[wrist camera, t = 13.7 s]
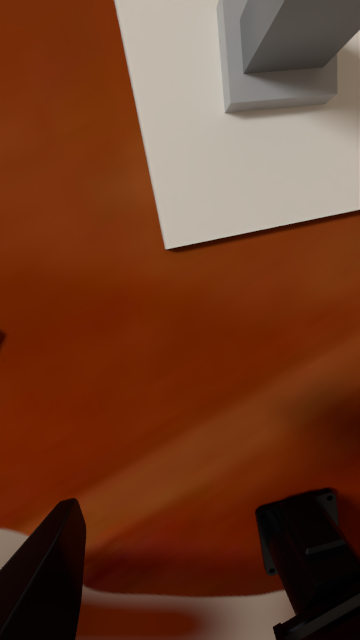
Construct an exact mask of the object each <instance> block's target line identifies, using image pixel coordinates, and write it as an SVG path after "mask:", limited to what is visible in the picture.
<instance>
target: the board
mask: <svg viewBox="0 0 360 640" xmlns="http://www.w3.org/2000/svg"><path fill="white" fill-rule="evenodd" d="M218 1H219V0H114V2H115V7H116V12H117V17H118V22H119V26H120V31H121V36H122V41H123V46H124V51H125V56H126V61H127V65H128V70H129V75H130V80H131V85H132V90H133V95H134V100H135V104H136V109H137V114H138V119H139V124H140V129H141V134H142V139H143V143H144V148H145V153H146V158H147V163H148V168H149V173H150V178H151V182H152V187H153V192H154V197H155V202H156V207H157V212H158V217H159V221H160V226H161V231H162V236H163V241H164V246H165V249H170V248H175V247H180V246H185V245H190V244H195V243H200V242H205V241H209V240H214V239H219V238H224V237H229V236H234V235H239V234H243V233H248V232H253V231H258V230H263V229H268V228H273V227H278V226H282V225H287V224H292V223H297V222H302V221H307V220H312V219H317V218H321V217H326V216H331V215H336V214H341V213H346V212H351V211H356V210H360V30H359V31H358V32H357V33H356V34H355V35H354V36H353V37H352V38H351V39H350V41H349V42H348V43H347V44H346V45H345V46H344V47H343V48H342V49H341V50H340V51H339V52H338V53H337V95H335V96H334V97H333V98H332V99H331V100H329V101H328V102H327V103H326V104H321V105H309V106H298V107H287V108H276V109H264V110H253V111H242V112H231V113H225V109H224V97H223V84H222V72H221V59H220V47H219V34H218V22H217V9H216V7H217V4H218Z"/></svg>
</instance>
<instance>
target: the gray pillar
mask: <svg viewBox="0 0 360 640" xmlns="http://www.w3.org/2000/svg"><path fill="white" fill-rule="evenodd" d="M216 9H217V22H218V34H219V47H220V59H221V72H222V84H223V97H224V109H225V113H231V112H242V111H253V110H264V109H276V108H287V107H298V106H309V105H321V104H326V103H327V102H328V101H329V100H331V99H332V98H333V97H334V96H335V95H337V53H338V52H339V51H340V50H341V49H342V48H343V47H344V46H345V45H346V44H347V43H348V42H349V41H350V39H351V38H352V37H353V36H354V35H355V34H356V33H357V32H358V31H359V30H360V0H219V1H218V4H217V7H216Z"/></svg>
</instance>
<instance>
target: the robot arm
mask: <svg viewBox="0 0 360 640" xmlns="http://www.w3.org/2000/svg"><path fill="white" fill-rule="evenodd" d="M261 514H262V515H261ZM255 515H256V521H257V527H258V533H259V539H260V544H261V550H262V556H263V562H264V568H265V570H266V573H267V574H268V575H270V576H272V575H276V574H279V577H280V579H281V582H282V584H283V586H284V589H285V591H286V593H287V596H288V598H289V601H290V603H291V605H292V608H293V610H294V612H295V615H296V616H295V617H293V618H291V619H290V620H288V621H286V622H284V623H283V624H281V623H279V624H277V625H275V626H274V627H273V630H274V634H275V637H276V640H360V557H359V555H358V554H357V553H356V551H355V550H354V548H353V547H352V546H351V544H350V543H349V541H348V540H347V539H346V537H345V536H344V534H343V533H342V532H341V530H340V529H339V524H338V514H337V504H336V496H335V494H334V493H333V491H332V490H330V489H325V490H322V491H318V492H314V493H310V494H307V495H303V496H299V497H296V498H292V499H288V500H284V501H281V502H277V503H273V504H270V505H266V506H262V507H259V508H258V509H257V510H256V511H255ZM85 543H86V524H85V520H84V517H83V514H82V511H81V508H80V505H79V502H78V500H77V499H75V498H71V499H67V500H63V501H60V502H59V503H58V504H57V505H56V506H55V507H54V509H53V510H52V511H51V512H50V513H49V514H48V516H47V517H46V518H45V519H44V520H43V521H42V522H41V524H40V525H39V526H38V527H37V528H36V529H35V530H34V532H33V533H32V534H31V535H30V536H29V537H28V539H27V540H26V541H25V542H24V543H23V545H22V546H21V547H20V548H19V549H18V550H17V551H16V552H15V554H14V555H13V556H12V557H11V558H10V559H9V561H8V562H7V563H6V564H5V565H4V566H3V567H2V569H1V570H0V640H75V637H76V631H77V625H78V619H79V613H80V606H81V597H82V585H83V571H84V557H85Z"/></svg>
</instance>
